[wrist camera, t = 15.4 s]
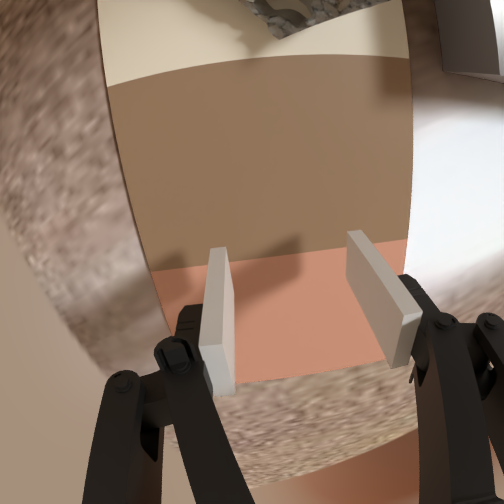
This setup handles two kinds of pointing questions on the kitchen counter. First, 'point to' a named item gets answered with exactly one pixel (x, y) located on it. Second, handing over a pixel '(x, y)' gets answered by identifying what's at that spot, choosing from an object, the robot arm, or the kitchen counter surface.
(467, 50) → the housing
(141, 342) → the kitchen counter surface
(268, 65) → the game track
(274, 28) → the egg carton
